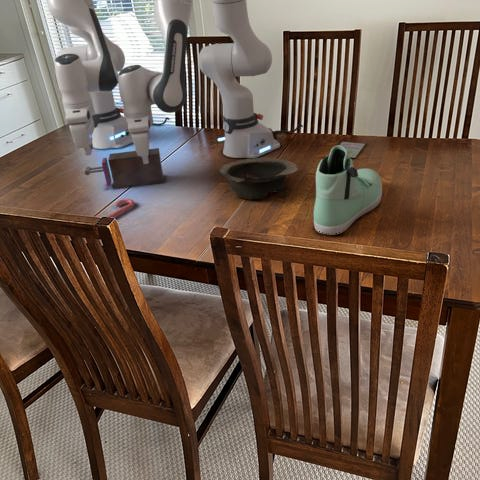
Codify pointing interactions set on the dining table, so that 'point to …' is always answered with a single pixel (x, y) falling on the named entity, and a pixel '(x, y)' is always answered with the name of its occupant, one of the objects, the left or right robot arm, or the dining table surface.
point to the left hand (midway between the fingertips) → (89, 151)
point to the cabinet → (135, 169)
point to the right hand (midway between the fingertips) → (146, 159)
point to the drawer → (104, 168)
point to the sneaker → (343, 192)
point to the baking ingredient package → (352, 148)
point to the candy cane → (118, 212)
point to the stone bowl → (257, 176)
